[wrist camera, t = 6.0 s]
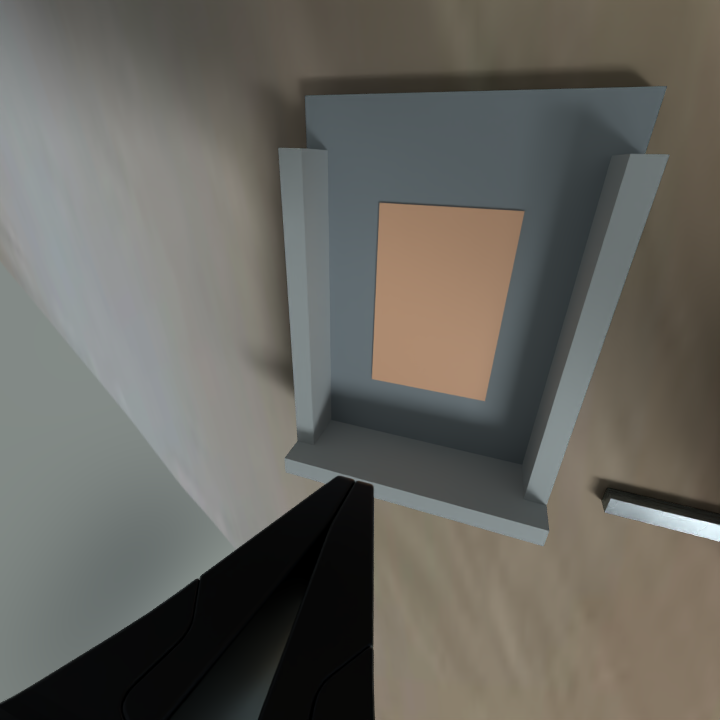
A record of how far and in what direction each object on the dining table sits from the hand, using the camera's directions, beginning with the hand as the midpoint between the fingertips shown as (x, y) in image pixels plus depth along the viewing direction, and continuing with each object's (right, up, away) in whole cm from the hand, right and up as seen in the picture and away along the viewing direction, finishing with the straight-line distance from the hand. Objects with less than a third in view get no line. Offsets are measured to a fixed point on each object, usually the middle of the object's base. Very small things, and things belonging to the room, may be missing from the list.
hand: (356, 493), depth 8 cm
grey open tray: (+4, +5, +11) cm, 13 cm away
